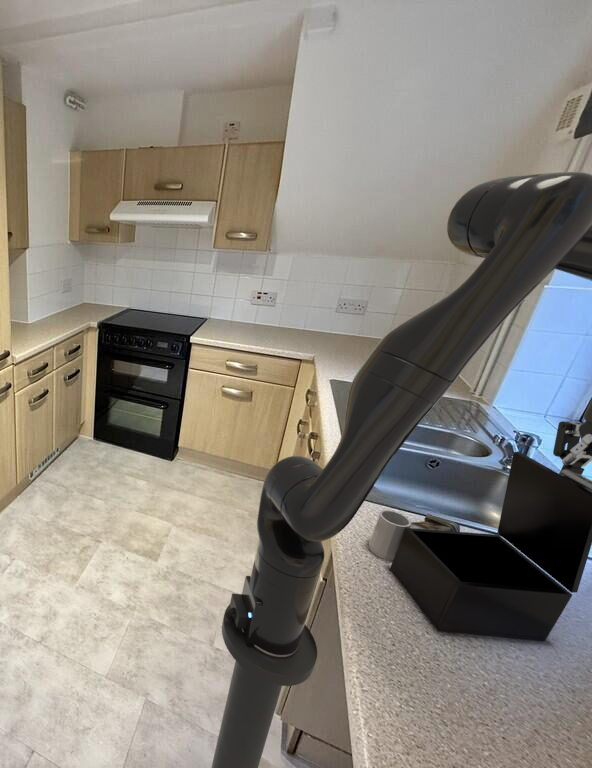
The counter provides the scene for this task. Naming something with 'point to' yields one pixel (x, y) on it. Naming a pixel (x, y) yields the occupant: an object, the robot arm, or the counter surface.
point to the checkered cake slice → (436, 524)
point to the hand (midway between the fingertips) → (583, 496)
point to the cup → (388, 533)
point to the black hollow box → (477, 584)
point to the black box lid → (549, 518)
